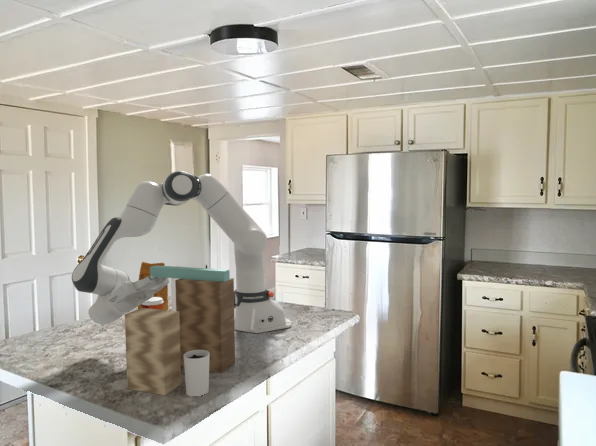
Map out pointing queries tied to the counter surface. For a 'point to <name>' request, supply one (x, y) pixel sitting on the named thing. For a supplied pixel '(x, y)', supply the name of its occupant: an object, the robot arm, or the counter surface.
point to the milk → (174, 292)
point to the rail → (190, 273)
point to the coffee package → (161, 293)
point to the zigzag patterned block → (153, 350)
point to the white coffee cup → (196, 372)
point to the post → (207, 320)
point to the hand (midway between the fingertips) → (159, 275)
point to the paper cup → (153, 303)
